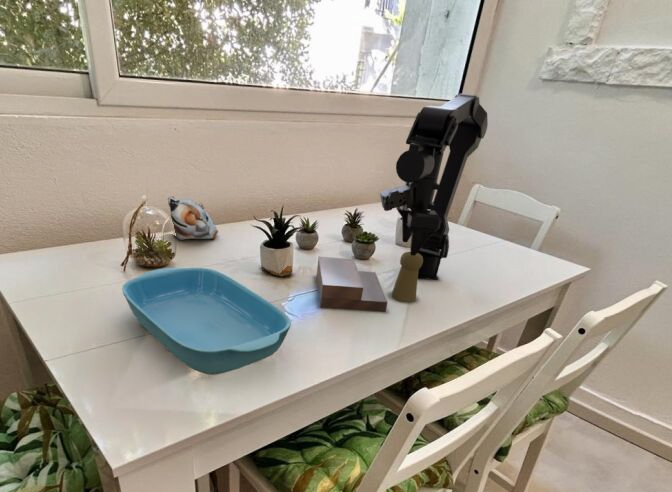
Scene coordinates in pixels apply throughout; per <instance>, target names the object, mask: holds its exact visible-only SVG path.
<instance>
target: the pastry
mask: <svg viewBox="0 0 672 492" xmlns="http://www.w3.org/2000/svg"><path fill="white" fill-rule="evenodd" d="M291 266H292V265H291ZM291 266H287V267H286V268H285V269H284V270H282V272H281V273H280V274H279V273H276V272H274V271H271V270H268V269H265V268H264V267H263V266H262V268H264V270H265V271H267V272H269V273H270V274H272V275H274V276H279V277H284V276H290V275H291V274H292V273H293V266H292V267H291Z"/></svg>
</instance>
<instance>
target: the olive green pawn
mask: <svg viewBox="0 0 672 492" xmlns="http://www.w3.org/2000/svg"><path fill="white" fill-rule="evenodd" d="M422 263H423V257H422V256H421V255H420V254H418V253H417V254H416V255H415V256H413V255H410V251H405V252H403V253H402V255H401V256H400V259H399V264H400V265H401V266H400V269H399V272H398V274H397V277H396V280H395V283H394V286H393V288H392V290H391V291H392V292H391V295H390V297H391V298H392V299H393V300H394V301H397V302H400V303H406V304H408V303H409V304H410V303H414V302H415V301H416V298H417V290H418V289H417V288H418V279H419V278H418V270H419V268H420V267H421V266H422Z"/></svg>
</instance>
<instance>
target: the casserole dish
mask: <svg viewBox="0 0 672 492" xmlns="http://www.w3.org/2000/svg"><path fill="white" fill-rule="evenodd" d="M121 290H122V294H123V296H124V298H125V300H126V302H127V304H128V306H129V308H130V310H131V312H132V313H133V315H134V317H135V319H137V321H138V322H139V323H140V325H142V326H143V327H144V329H146V330H147V331H148V332H149V333H150V335H152V336H153V337H154V338H155V339H156V340H157V341H158V342H159V343H160V344H161V345H163V347H164V348H165V349H167V350H168V351H169V352H170V354H172V355H173V356H174V357H175V358H176V359H177V360H179V361H181V363H183V364H184V365H186V366H187V367H189V368H190V369H192V370H194V371H196V372H198V373H200V374H201V373H202V374H204V375H208V376H210V375H211V376H217V375H221V374H225V373H229V372H232V371H235V370H239V369H241V368H244V367H245V366H249V365H251V364H255V363H257V362H259V361H260V362H261V361H263V360H264V359H267V358H269V357H271V356H272V355H274V354H275V353H277V351H278V350H279V349H280V347H281V346H282V344H283V343H284V341H285V339H286V337H287V334H288V332H289V330H290V328H291V326H292V321H291V318H290V317H289V315H287V313H286V312H284V311H283V310H282V309H281V308H279V307H278V306H276V305H275V304H273V303H272V302H270V301H269V300H268V299H265V298H264V297H262V296H261V295H259V293H256V292H254V291H253V290H252V289H250V288H248V287H247V286H245V285H243V284H242V283H240V282H239V281H237V280H235V279H234V278H232V277H231V276H229V275H227V274H225V273H223V272H221V271H219V270H216V269H212V268H207V267H164V268H158V269H152V270H150V271H146V272H144V273H142V274H141V275H139V276H138V277H137V276H136V277H134V278H132V279H130V280H127V281H126V282H124V284H123V285H122V287H121Z"/></svg>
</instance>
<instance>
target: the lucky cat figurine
mask: <svg viewBox="0 0 672 492" xmlns="http://www.w3.org/2000/svg"><path fill="white" fill-rule="evenodd" d="M167 204H168V206H169V209H170V218H171V219H172V222H173V224H174V229H175V233H176V237H175V238H176V239H178V240H180V241H183V240H189V239H195V240H196V239H198V240H199V239H205V240H206V239H207V240H208V239H209V240H215V239H216V237H217V234H218V233H219V230H218V228H217V227H216V224H214V222H213V221H212V218H211V216H210V215H209V214H208V213H207V212H206V211H205V209H204V208H205V207H204V205H203V203H197V202H195V201H194V200H191V199H190V198H185V197H182V198H178V199H176V198H175V197H174V195H173V196H172V195H171V196H168V197H167Z"/></svg>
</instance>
